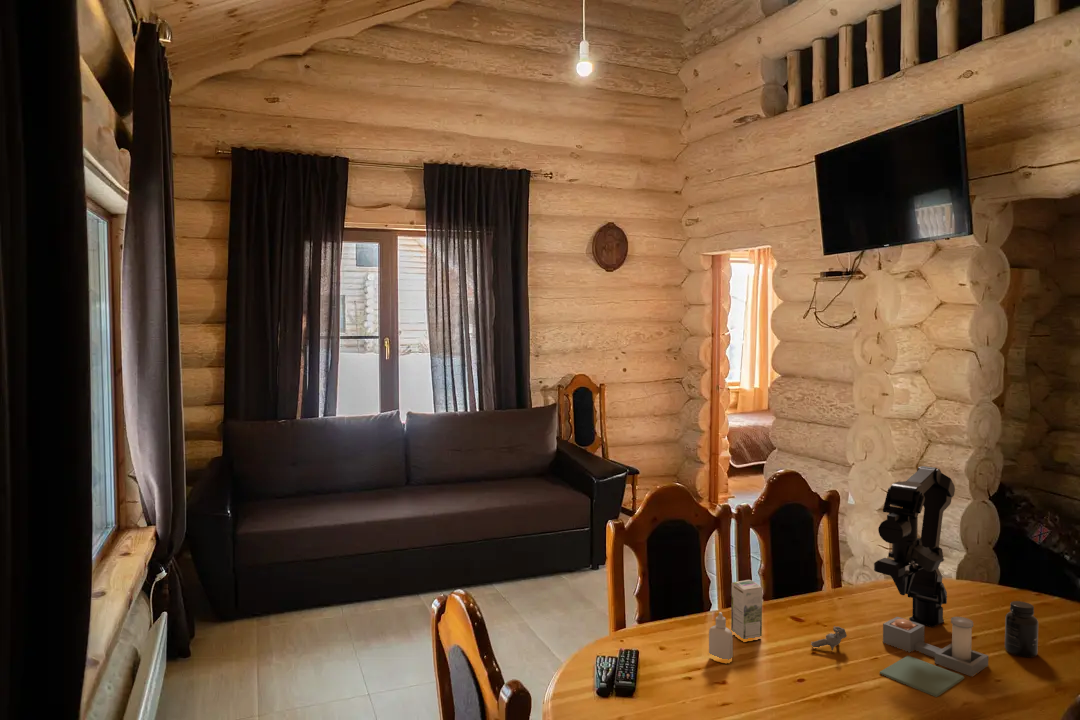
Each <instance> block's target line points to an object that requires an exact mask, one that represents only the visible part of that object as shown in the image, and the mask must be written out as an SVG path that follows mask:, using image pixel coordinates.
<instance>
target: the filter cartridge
mask: <svg viewBox="0 0 1080 720" xmlns="http://www.w3.org/2000/svg"><path fill="white" fill-rule="evenodd" d="M950 624H951V625H952V627H951V628H952V629H951V630H952V631H951V634H952V636H951V637H952V638H951V643H952V657H953V658H956V659H959V660H961V661H964V662H967V663H971V650H972V637H973V635H972V632H973V631H972V630H973V627H974V621H973V620H972V619H970V618H967V617H963V616H953V617H951V618H950Z"/></svg>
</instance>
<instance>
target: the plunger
mask: <svg viewBox="0 0 1080 720" xmlns="http://www.w3.org/2000/svg"><path fill="white" fill-rule="evenodd" d="M912 622H913V621H912ZM912 622H911V620H909V619H906V618H903V619H896V620H895V622H893V623H891V625H893V626H896V627H899V628H902V629H905V630H908V631H909V630H911V629H913V628H914V627H916V626H917V625H915V624H913V623H912Z"/></svg>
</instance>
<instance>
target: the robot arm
mask: <svg viewBox="0 0 1080 720" xmlns="http://www.w3.org/2000/svg"><path fill="white" fill-rule="evenodd" d="M955 490H956V488H955V484H954V482H953V480H952V478H950V477H949V476H948V475H946V474H944V473H943V472H942V471H941V469H940V468H937V467H933V466H925V465H922V466H918V467H917V471H916V472H915V473H913V474H912V475H911V476H910V477H908V479H906V480H905V481H896V482H893V483H892V484H891V485H890V487H888V488H887V492H886V496H885V501H884V504H883V506H882V507H883V508H882V512H883V513H888V514H887V515H886V519H884V520H883V521H881V522H880V524H879V527H878V528H877V529H878V535H879V536H880V538H881V540H883V541H885V542H886V543H888V544H891V551H890V552H888V557H889V558H887V557H883V558H880V559H878V560H876V561H874V562H873V571H874V572H876V573H878V574H882V575H885V576H890V577H891V579H892V581H893V583H894V584H895V587H896V589H897V591H898V593H899V594H900V595H901V596H906V595H907V598H911V599H912V612H911V613H912V614H911V615H912V616H910V617H909V618H908V620H909V621H912V622H915V623H918V624H921V625H924V626H926V627H930V628H935V627H937V626H938V625H940V624H942V623H944V621H945V619H944V607H943V606H942V605H946V604H948V596H947V595H948V593H947V589H946V587H945V585H944V583H943V575H942V573H941V571H940V569H939V567H940V566H941V563H943V562H944V560H945V558H944V553H943V552H944V551H943V549H942V548H941V547H940V542H941V541H940V540H941V535H942V534H941V532H942V525H943V517H944V516H943V515H944V511H946V509H947V508H949V506H950V505H951V504H952V500H953V499H952V498H954V496H955V493H956V491H955ZM922 509H924V510H922ZM922 511H923V516H922V517H923V518H922V525H921V532H920V533H921V534H920V537H918V529H919V527H918V520H919V519H918V518H919V517H918V516H919V515H920V514H921V513H922ZM890 558H892V559H890Z"/></svg>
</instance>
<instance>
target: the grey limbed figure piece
mask: <svg viewBox="0 0 1080 720" xmlns="http://www.w3.org/2000/svg"><path fill="white" fill-rule="evenodd" d="M832 631H833V632H834V633H831V632H830V633H828V634H826V635H825V638H822V639H818V640H815V641H810V645H812V646H813V647H818V648H821V647H824V646H827V645H828V646H829V647H830V648H831V650H832V651H833V650H834V648H835V647H837V646H839V645H840V644H841V641H842V639H845V638H847V632H846V630H845V628H844V627H843V628H842V627H840V626H835V625H833V628H832ZM838 644H839V645H838ZM812 646H811V647H812ZM820 646H821V647H820ZM813 647H812V648H813Z"/></svg>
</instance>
